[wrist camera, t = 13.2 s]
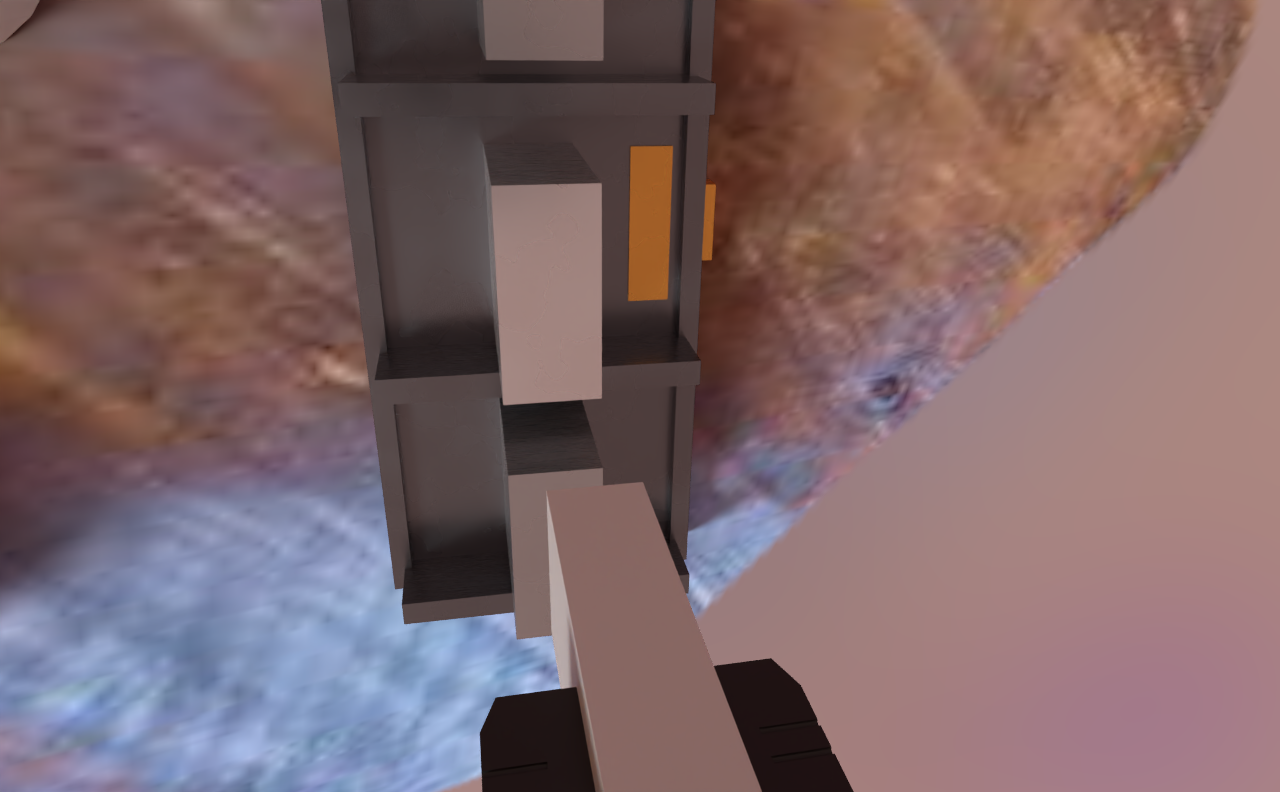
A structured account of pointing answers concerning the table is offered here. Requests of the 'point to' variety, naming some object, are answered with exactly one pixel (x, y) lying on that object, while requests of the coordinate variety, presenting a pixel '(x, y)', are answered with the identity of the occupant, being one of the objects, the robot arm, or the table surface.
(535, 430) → the rack
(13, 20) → the mug
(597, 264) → the panel
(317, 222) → the table surface
